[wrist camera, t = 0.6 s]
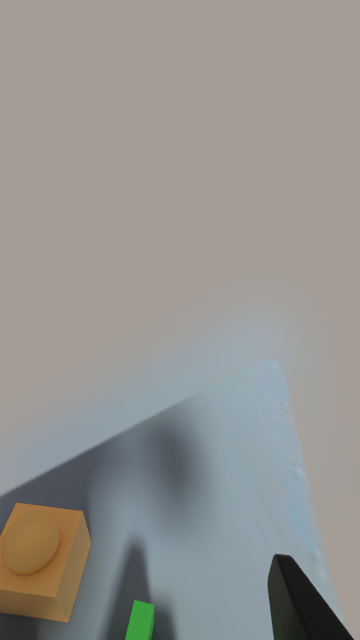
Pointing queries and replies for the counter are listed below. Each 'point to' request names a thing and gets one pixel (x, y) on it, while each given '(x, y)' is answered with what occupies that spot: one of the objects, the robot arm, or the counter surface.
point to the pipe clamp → (141, 622)
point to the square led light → (42, 561)
